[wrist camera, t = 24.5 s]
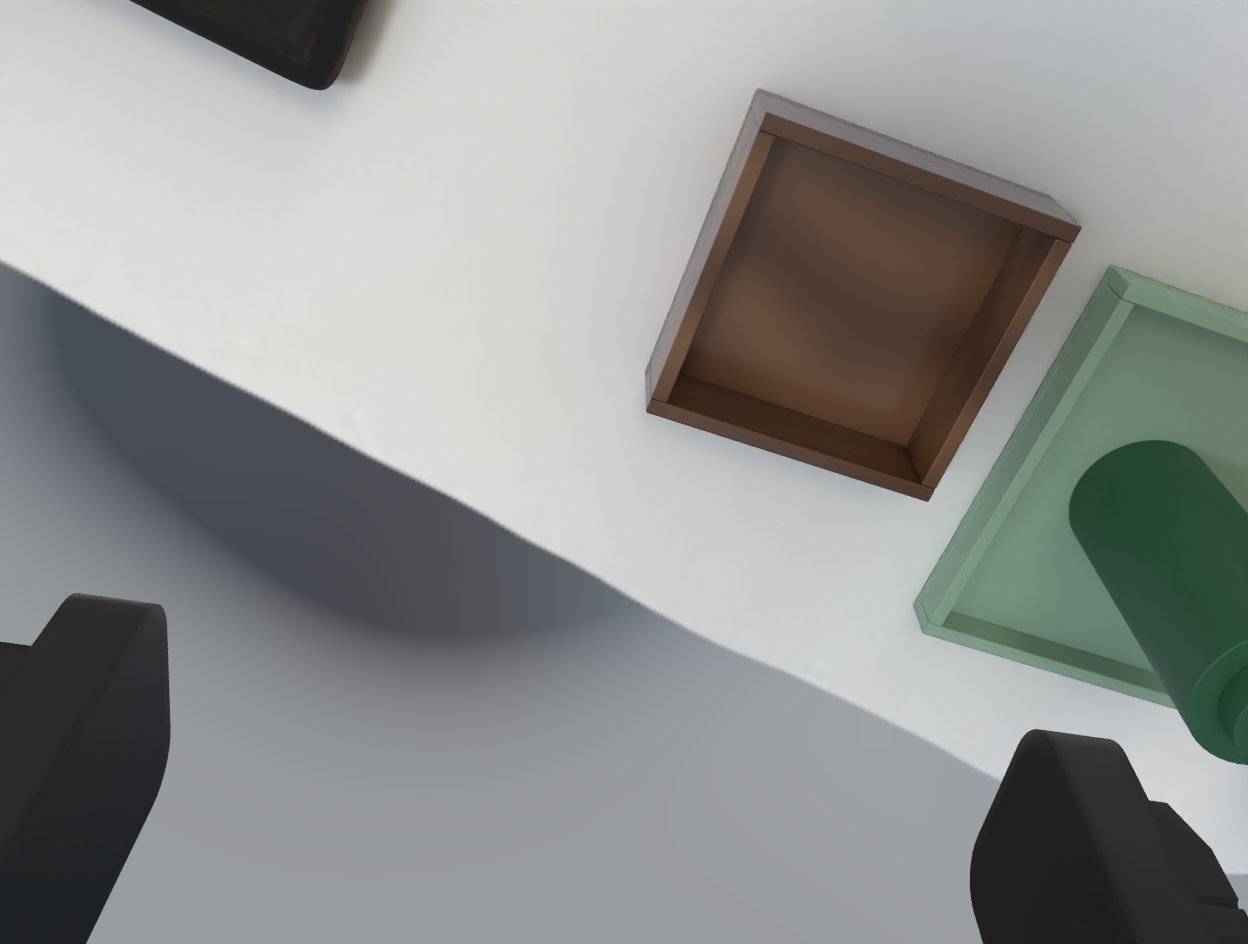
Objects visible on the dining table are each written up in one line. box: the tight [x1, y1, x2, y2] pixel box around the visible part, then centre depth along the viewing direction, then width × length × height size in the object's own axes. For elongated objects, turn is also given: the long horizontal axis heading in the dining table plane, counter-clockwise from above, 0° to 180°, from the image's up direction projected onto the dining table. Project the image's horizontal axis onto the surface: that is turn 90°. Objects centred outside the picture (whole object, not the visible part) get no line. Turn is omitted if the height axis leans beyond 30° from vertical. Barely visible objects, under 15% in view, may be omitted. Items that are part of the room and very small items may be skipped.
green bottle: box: [1069, 440, 1248, 765], centre depth 40 cm, size 6×6×17 cm
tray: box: [913, 265, 1248, 709], centre depth 47 cm, size 16×12×2 cm
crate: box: [645, 89, 1081, 502], centre depth 42 cm, size 11×11×4 cm
